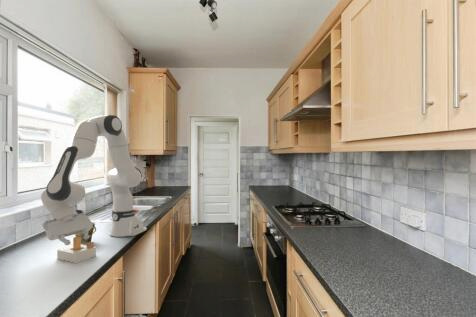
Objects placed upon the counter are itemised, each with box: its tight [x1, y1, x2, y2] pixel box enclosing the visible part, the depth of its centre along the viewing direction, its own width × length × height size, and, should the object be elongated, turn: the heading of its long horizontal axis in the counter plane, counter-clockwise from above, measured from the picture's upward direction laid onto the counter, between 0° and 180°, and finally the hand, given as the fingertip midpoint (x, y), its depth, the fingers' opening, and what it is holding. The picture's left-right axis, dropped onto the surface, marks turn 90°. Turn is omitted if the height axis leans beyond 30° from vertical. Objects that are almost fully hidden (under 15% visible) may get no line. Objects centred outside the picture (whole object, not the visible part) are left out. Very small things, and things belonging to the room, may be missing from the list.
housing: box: [56, 241, 97, 264], centre depth 126 cm, size 10×12×6 cm
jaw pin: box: [72, 236, 81, 251], centre depth 126 cm, size 3×3×9 cm
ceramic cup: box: [74, 221, 97, 245], centre depth 146 cm, size 13×10×10 cm
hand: (78, 241), depth 126 cm, fingers open, 8 cm apart
